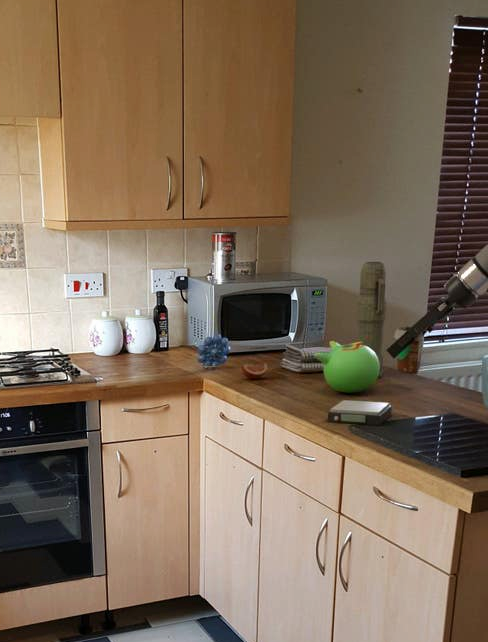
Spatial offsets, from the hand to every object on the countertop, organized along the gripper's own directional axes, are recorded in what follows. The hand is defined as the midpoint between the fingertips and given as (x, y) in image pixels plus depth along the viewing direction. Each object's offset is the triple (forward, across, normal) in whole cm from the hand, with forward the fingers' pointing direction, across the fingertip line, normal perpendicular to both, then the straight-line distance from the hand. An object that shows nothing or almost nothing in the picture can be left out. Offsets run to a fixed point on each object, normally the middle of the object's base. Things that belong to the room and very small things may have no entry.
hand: (396, 350), depth 210 cm
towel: (+45, +73, +18) cm, 88 cm away
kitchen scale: (+19, +3, -6) cm, 20 cm away
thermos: (+30, +65, +3) cm, 72 cm away
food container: (+2, 0, -5) cm, 5 cm away
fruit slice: (+52, +49, +26) cm, 76 cm away
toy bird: (+28, +36, +2) cm, 46 cm away
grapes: (+68, +64, +41) cm, 102 cm away
